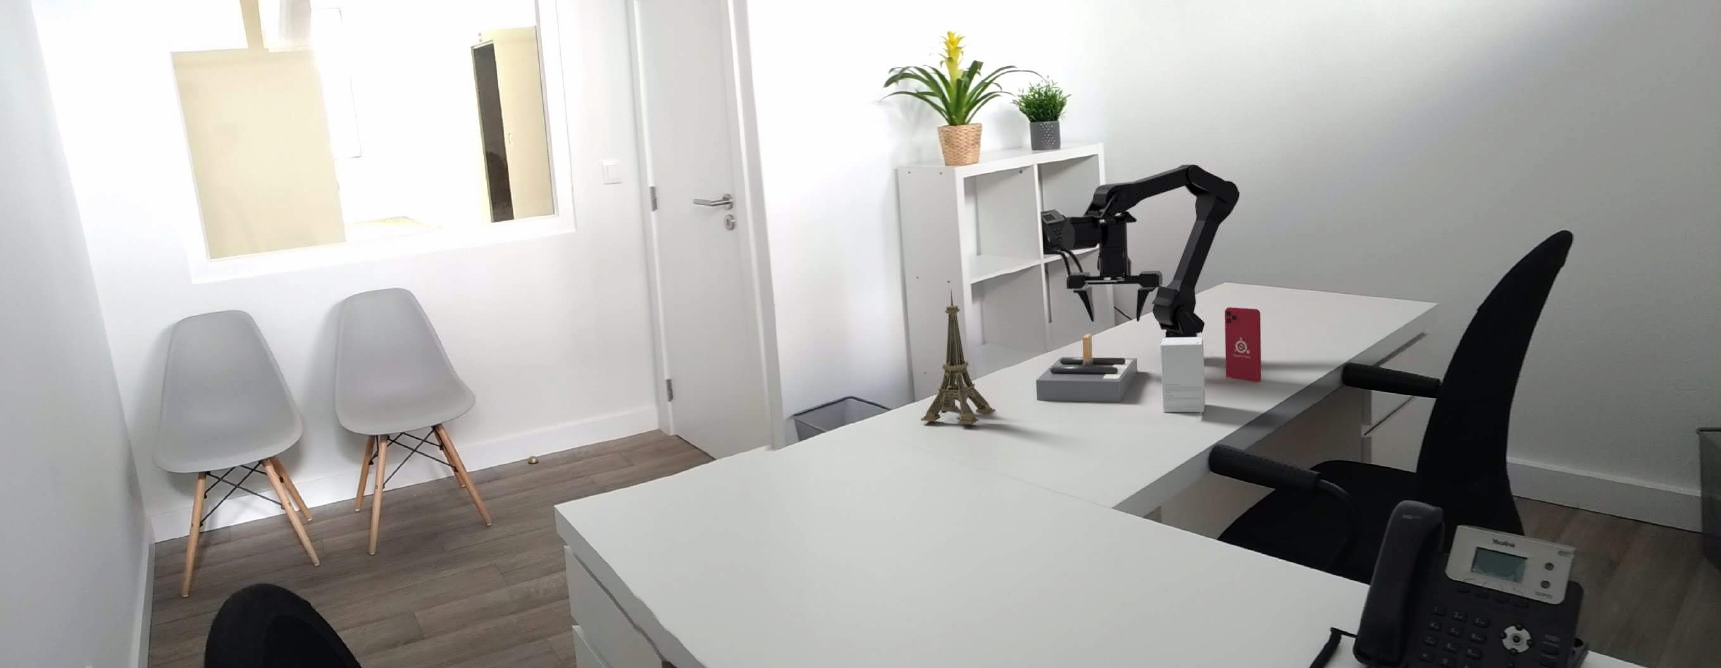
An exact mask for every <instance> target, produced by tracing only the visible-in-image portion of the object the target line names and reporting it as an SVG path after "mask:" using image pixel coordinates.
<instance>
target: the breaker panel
mask: <svg viewBox="0 0 1721 668" xmlns="http://www.w3.org/2000/svg"><path fill="white" fill-rule="evenodd" d="M1092 358H1093V360H1094V363H1093V365H1092V366H1091V367H1082V363H1083V356H1081V357H1076V356H1075V357H1070V356H1068V357H1067V356H1066V357H1065V356H1063V357H1060V358H1059V359H1057V360H1056V361H1055V362H1054V363H1053V364H1052V365H1051V366H1050V367H1048V369H1046V370H1045V371H1044V372H1043V373H1041V375H1040V376H1039V377H1038V378H1037V379H1036V380H1035V381H1036V382H1035V385H1036V387H1035V388H1036V389H1035V391H1036V400H1037V401H1061V402H1062V401H1063V402H1064V401H1065V402H1095V403H1096V402H1097V403H1101V402H1102V403H1105V402H1106V403H1121V402H1122V400H1123V397H1124V396H1125V395H1126V393H1127V392H1128V388H1129V387H1130V385H1131V383H1132V382H1133V380H1134V378H1135V376H1136V375H1137V373H1138V359H1137V357H1136V358H1135V357H1134V358H1132V357H1130V358H1129V357H1127V358H1126V357H1092ZM1135 374H1136V375H1135ZM1125 392H1126V393H1125Z"/></svg>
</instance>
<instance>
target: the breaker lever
mask: <svg viewBox="0 0 1721 668" xmlns="http://www.w3.org/2000/svg"><path fill="white" fill-rule="evenodd" d="M1082 357H1083V363H1082V367H1091V366H1092V365H1093V363H1094V360H1093V358H1094V357H1093V336H1092V333H1086V334H1085V335H1084V336H1082Z"/></svg>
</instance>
